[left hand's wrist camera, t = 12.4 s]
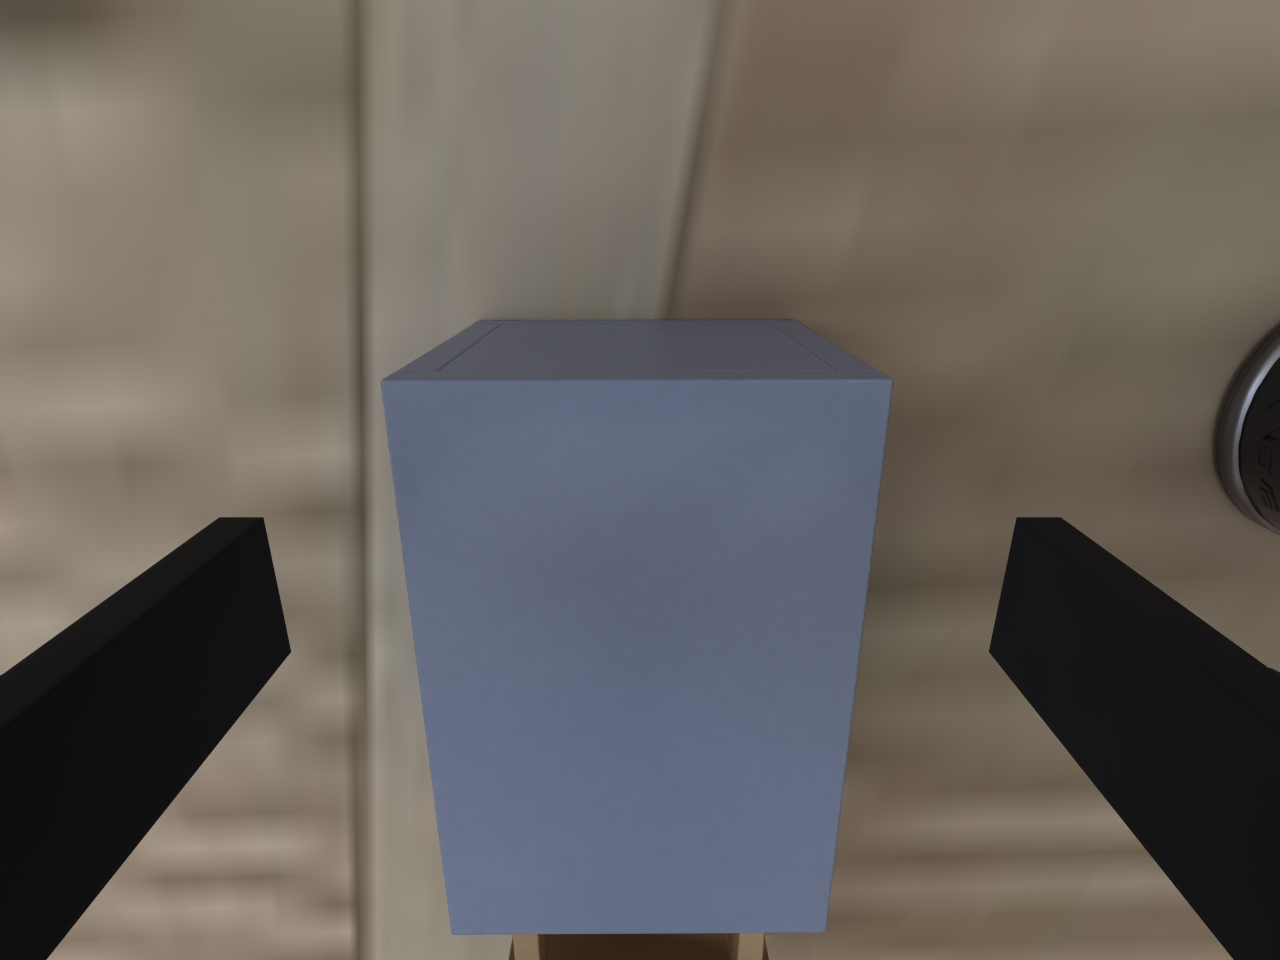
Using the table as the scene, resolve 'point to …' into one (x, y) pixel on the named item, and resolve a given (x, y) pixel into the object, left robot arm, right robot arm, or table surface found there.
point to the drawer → (639, 946)
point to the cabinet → (637, 615)
